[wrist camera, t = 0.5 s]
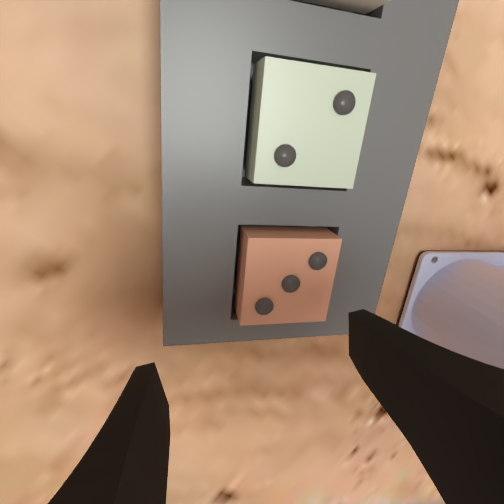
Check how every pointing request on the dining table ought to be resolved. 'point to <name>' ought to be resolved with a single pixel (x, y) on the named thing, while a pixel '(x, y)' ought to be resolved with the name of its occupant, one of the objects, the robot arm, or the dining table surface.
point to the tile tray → (283, 196)
